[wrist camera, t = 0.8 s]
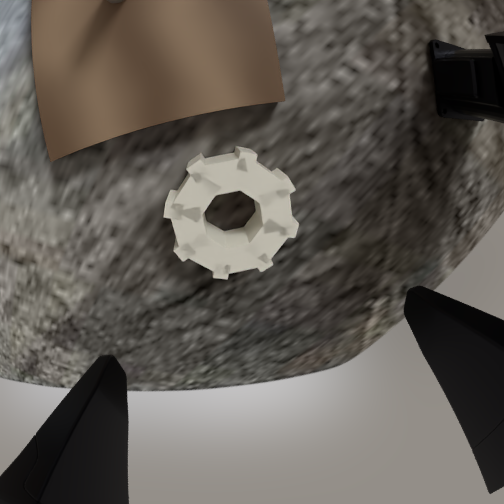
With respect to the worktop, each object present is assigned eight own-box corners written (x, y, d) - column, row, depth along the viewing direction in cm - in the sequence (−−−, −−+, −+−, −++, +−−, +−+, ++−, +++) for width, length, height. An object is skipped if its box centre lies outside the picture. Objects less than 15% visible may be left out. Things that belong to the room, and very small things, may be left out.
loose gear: (278, 138, 16) (290, 143, 14) (291, 245, 20) (302, 263, 18) (158, 163, 16) (151, 171, 14) (186, 267, 19) (185, 288, 17)
